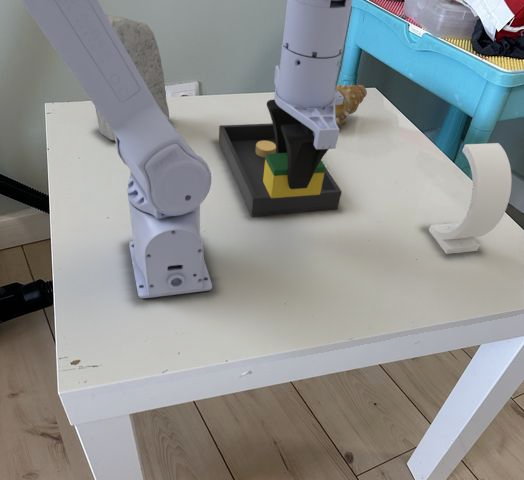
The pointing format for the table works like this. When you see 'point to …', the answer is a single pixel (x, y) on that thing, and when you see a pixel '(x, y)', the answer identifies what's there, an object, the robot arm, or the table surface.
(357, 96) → the seashell
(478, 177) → the headphone stand
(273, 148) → the tan flat disc
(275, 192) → the sponge
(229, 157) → the tray
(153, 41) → the decorative stone
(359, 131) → the table surface
